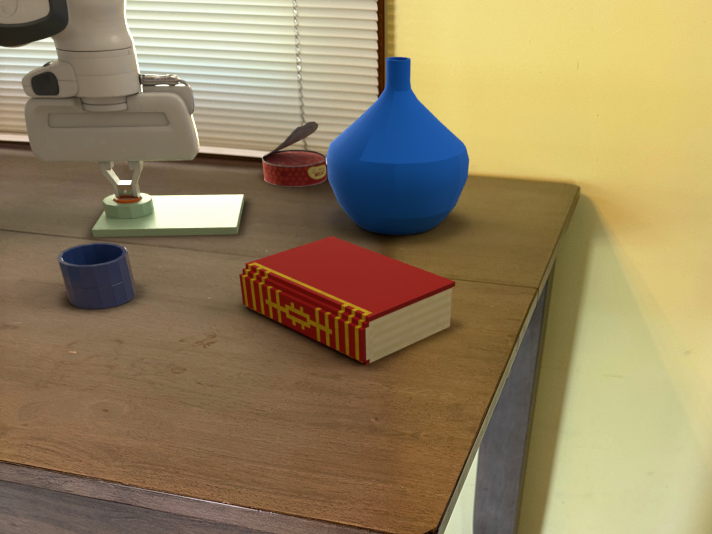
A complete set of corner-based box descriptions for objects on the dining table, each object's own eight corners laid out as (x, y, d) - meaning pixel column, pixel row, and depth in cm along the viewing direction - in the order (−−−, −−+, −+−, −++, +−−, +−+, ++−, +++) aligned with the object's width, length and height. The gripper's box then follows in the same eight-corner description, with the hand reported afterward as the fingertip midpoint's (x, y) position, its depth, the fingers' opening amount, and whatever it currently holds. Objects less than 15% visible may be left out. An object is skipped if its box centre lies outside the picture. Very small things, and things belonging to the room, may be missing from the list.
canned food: (288, 219, 117) (253, 161, 109) (271, 193, 124) (238, 137, 116) (349, 177, 116) (319, 117, 109) (329, 154, 123) (299, 95, 115)
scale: (94, 241, 96) (88, 216, 94) (115, 206, 106) (110, 184, 104) (238, 238, 97) (234, 213, 95) (244, 204, 108) (242, 182, 106)
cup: (63, 314, 79) (49, 267, 75) (78, 288, 84) (66, 243, 81) (131, 312, 79) (120, 265, 76) (142, 287, 85) (132, 241, 81)
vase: (366, 257, 92) (362, 77, 80) (308, 215, 105) (297, 52, 92) (491, 235, 99) (505, 65, 87) (423, 197, 111) (427, 43, 99)
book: (244, 312, 80) (238, 265, 76) (333, 280, 87) (331, 236, 83) (362, 371, 70) (361, 320, 67) (452, 329, 77) (455, 281, 74)
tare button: (114, 213, 99) (112, 201, 98) (119, 206, 101) (116, 193, 100) (139, 213, 99) (137, 200, 98) (143, 205, 101) (141, 193, 100)
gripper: (193, 69, 93) (210, 188, 102) (22, 70, 92) (55, 191, 101) (186, 79, 89) (206, 202, 97) (6, 80, 87) (42, 205, 96)
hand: (128, 196), depth 99 cm, fingers closed, pressing on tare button
